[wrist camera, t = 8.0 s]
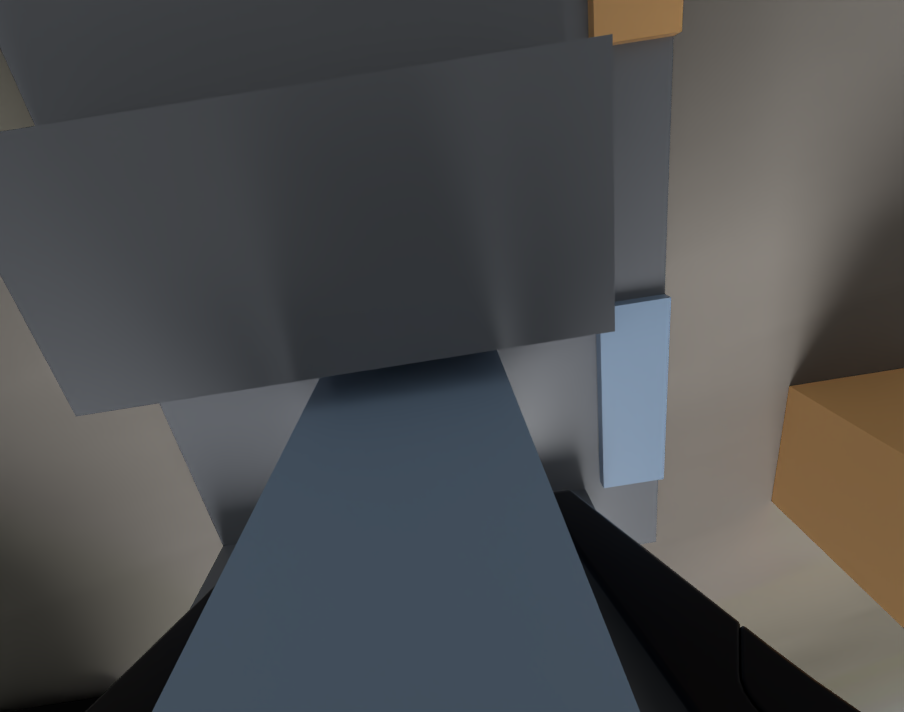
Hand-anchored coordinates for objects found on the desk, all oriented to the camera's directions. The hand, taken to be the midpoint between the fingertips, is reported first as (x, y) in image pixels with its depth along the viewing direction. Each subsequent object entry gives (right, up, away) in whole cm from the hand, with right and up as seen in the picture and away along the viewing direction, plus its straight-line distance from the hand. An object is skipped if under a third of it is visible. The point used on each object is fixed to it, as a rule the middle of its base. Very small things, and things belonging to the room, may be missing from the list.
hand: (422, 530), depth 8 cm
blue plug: (0, +1, +3) cm, 4 cm away
